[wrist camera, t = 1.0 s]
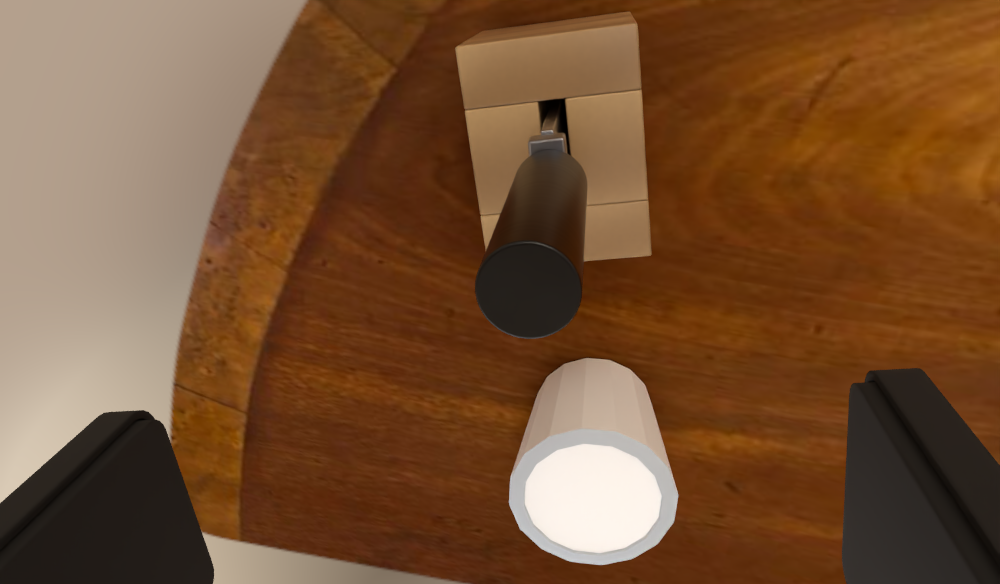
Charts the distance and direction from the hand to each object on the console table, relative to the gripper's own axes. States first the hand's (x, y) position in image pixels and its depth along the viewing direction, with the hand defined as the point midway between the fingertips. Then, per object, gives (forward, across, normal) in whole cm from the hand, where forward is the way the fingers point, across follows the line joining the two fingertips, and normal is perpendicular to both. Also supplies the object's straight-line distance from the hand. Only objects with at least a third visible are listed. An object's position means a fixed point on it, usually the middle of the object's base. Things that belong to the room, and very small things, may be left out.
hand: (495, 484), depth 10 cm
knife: (+24, 0, -1) cm, 24 cm away
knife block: (+24, 0, -1) cm, 24 cm away
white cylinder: (+24, 0, +13) cm, 27 cm away
